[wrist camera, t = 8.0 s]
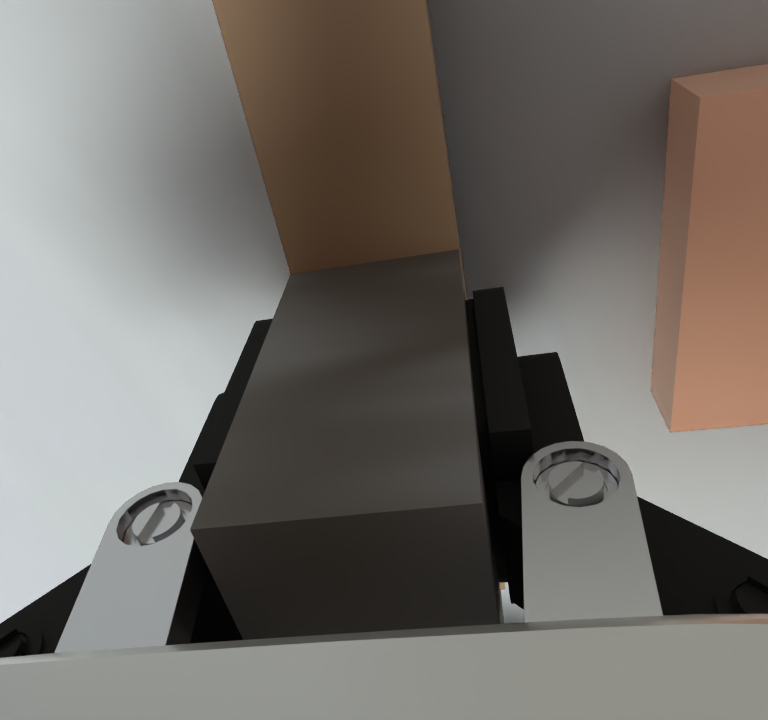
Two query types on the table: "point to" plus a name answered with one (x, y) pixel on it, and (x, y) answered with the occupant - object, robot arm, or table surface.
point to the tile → (714, 254)
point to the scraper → (352, 342)
